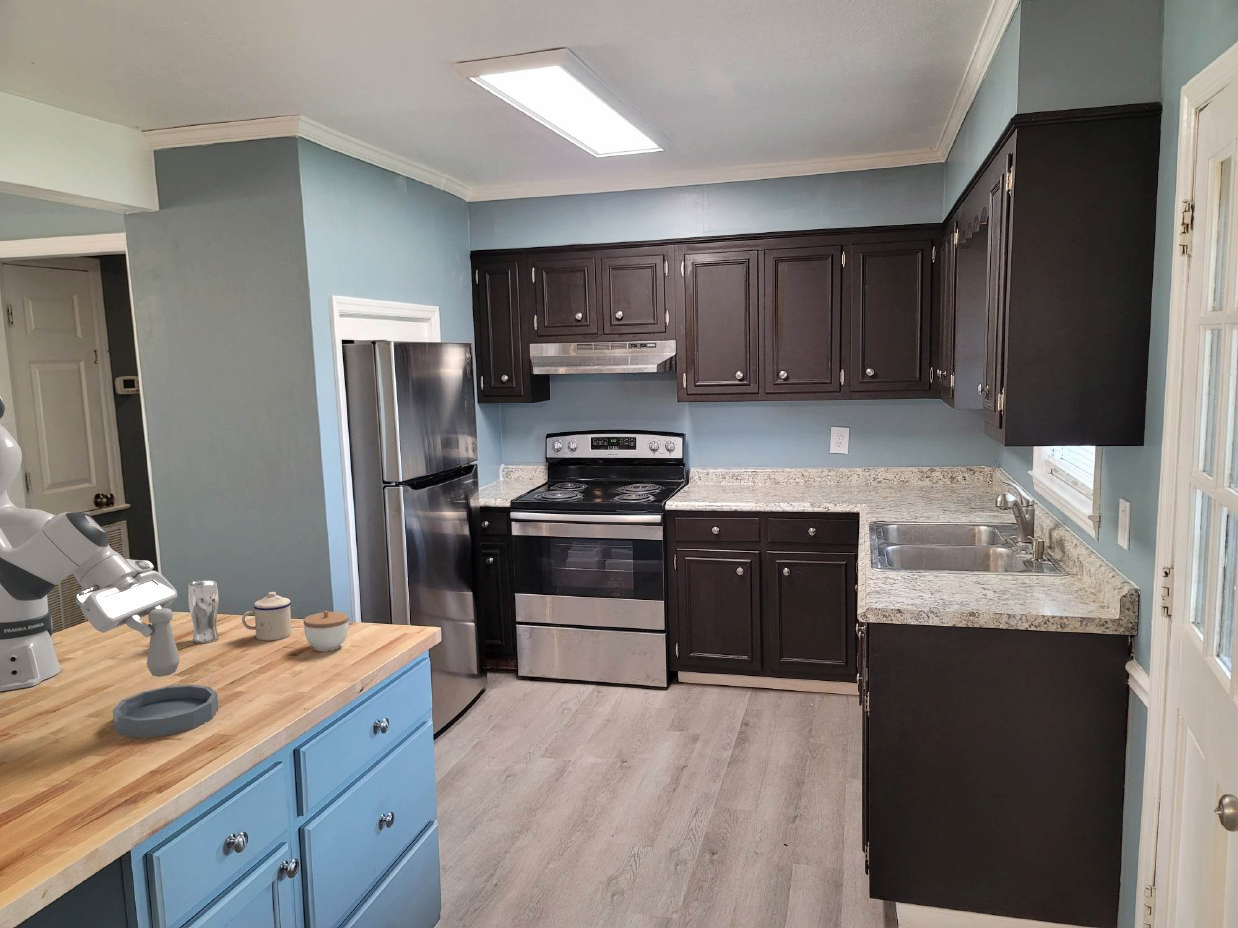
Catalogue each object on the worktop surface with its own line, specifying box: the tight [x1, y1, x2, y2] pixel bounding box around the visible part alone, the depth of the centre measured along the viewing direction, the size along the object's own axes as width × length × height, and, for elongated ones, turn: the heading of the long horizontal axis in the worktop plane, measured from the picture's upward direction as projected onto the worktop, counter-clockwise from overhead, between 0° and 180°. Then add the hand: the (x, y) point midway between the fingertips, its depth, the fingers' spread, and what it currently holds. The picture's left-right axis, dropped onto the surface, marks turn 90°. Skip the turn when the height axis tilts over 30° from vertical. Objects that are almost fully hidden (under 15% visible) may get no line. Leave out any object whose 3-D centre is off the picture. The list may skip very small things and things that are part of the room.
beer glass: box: [187, 579, 220, 644], centre depth 221 cm, size 7×7×15 cm
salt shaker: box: [146, 607, 180, 678], centre depth 170 cm, size 6×6×13 cm
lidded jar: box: [303, 610, 350, 652], centre depth 215 cm, size 11×11×9 cm
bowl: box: [112, 684, 219, 739], centre depth 172 cm, size 18×18×4 cm
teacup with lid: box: [241, 591, 292, 642], centre depth 223 cm, size 12×9×12 cm
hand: (158, 630), depth 170 cm, fingers closed on salt shaker, 3 cm apart
